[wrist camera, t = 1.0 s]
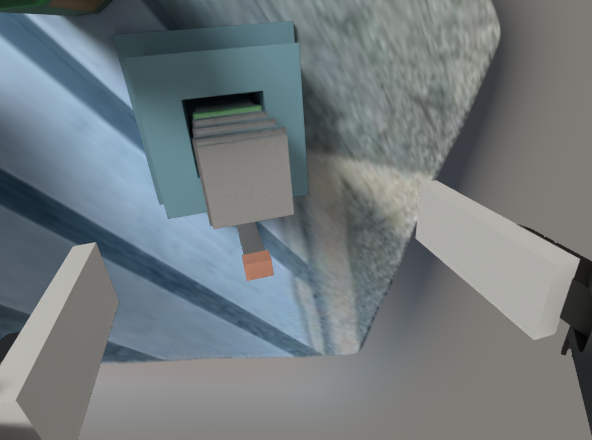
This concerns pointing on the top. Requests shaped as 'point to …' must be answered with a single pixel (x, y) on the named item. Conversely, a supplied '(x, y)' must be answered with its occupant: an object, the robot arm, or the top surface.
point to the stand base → (205, 83)
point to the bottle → (54, 6)
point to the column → (241, 161)
